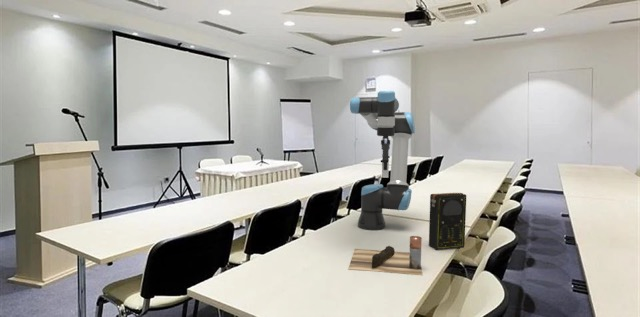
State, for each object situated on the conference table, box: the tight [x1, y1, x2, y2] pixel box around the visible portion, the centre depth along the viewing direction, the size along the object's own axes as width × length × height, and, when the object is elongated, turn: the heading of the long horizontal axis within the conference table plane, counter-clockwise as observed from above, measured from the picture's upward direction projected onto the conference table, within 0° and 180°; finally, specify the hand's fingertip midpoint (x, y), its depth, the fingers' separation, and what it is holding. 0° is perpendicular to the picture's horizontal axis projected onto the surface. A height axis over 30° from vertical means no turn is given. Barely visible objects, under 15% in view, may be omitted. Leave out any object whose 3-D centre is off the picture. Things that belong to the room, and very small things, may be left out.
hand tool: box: [372, 245, 396, 268], centre depth 150 cm, size 19×4×5 cm, turn 145°
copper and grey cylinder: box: [409, 235, 423, 270], centre depth 144 cm, size 4×4×12 cm
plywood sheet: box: [347, 248, 424, 276], centre depth 151 cm, size 24×28×1 cm
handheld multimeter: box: [428, 192, 467, 251], centre depth 168 cm, size 16×9×25 cm, turn 105°
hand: (385, 175), depth 162 cm, fingers open, 13 cm apart
